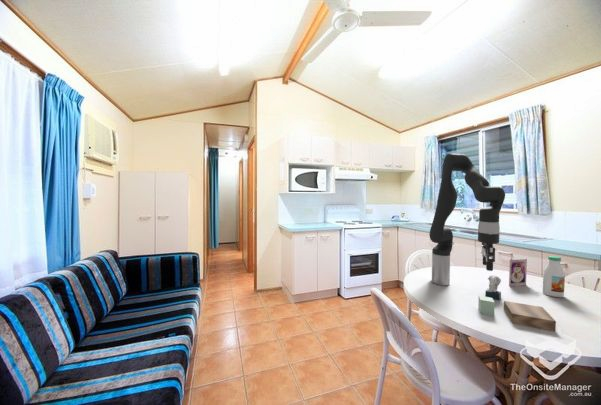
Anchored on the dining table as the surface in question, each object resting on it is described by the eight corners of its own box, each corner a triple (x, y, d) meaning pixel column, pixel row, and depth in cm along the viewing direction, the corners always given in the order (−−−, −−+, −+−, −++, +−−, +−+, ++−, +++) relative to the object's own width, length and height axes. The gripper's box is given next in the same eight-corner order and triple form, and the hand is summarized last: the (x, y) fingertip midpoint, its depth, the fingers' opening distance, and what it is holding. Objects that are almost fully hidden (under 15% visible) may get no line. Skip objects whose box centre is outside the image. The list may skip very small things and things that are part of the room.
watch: (501, 296, 124) (502, 275, 124) (498, 301, 119) (499, 279, 118) (488, 293, 128) (488, 272, 128) (484, 297, 123) (484, 276, 122)
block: (480, 313, 108) (480, 299, 108) (478, 308, 112) (478, 295, 112) (494, 315, 105) (494, 302, 105) (491, 310, 110) (492, 297, 110)
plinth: (511, 322, 100) (512, 313, 99) (503, 309, 111) (503, 300, 111) (555, 331, 93) (555, 321, 93) (542, 316, 105) (542, 307, 105)
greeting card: (510, 286, 137) (511, 260, 136) (498, 281, 144) (498, 256, 143) (527, 285, 139) (528, 259, 138) (514, 280, 146) (515, 256, 145)
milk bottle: (542, 294, 126) (544, 257, 125) (542, 290, 131) (543, 254, 130) (564, 299, 120) (566, 259, 120) (563, 294, 126) (564, 256, 125)
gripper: (475, 228, 115) (474, 262, 116) (480, 233, 103) (479, 271, 103) (495, 229, 112) (494, 264, 112) (503, 235, 99) (502, 273, 100)
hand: (487, 267), depth 108 cm, fingers open, 8 cm apart
